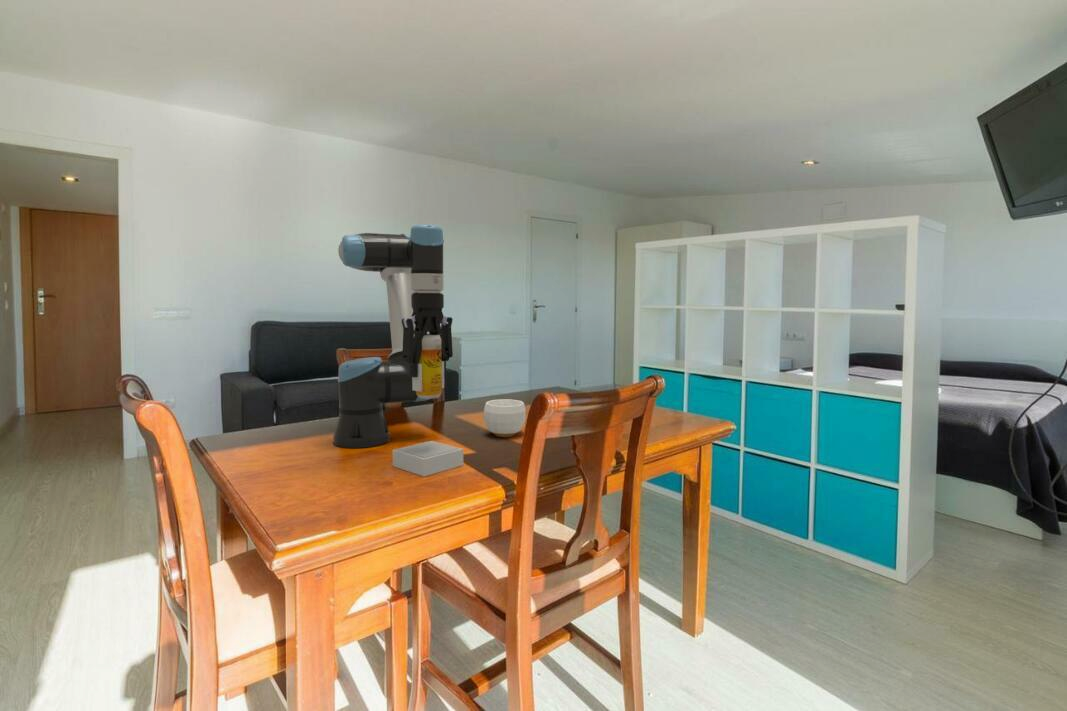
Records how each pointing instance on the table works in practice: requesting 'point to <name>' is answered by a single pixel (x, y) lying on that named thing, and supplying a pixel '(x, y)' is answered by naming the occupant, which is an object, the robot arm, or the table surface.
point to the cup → (504, 416)
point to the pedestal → (427, 458)
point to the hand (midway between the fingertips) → (428, 388)
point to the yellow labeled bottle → (431, 367)
